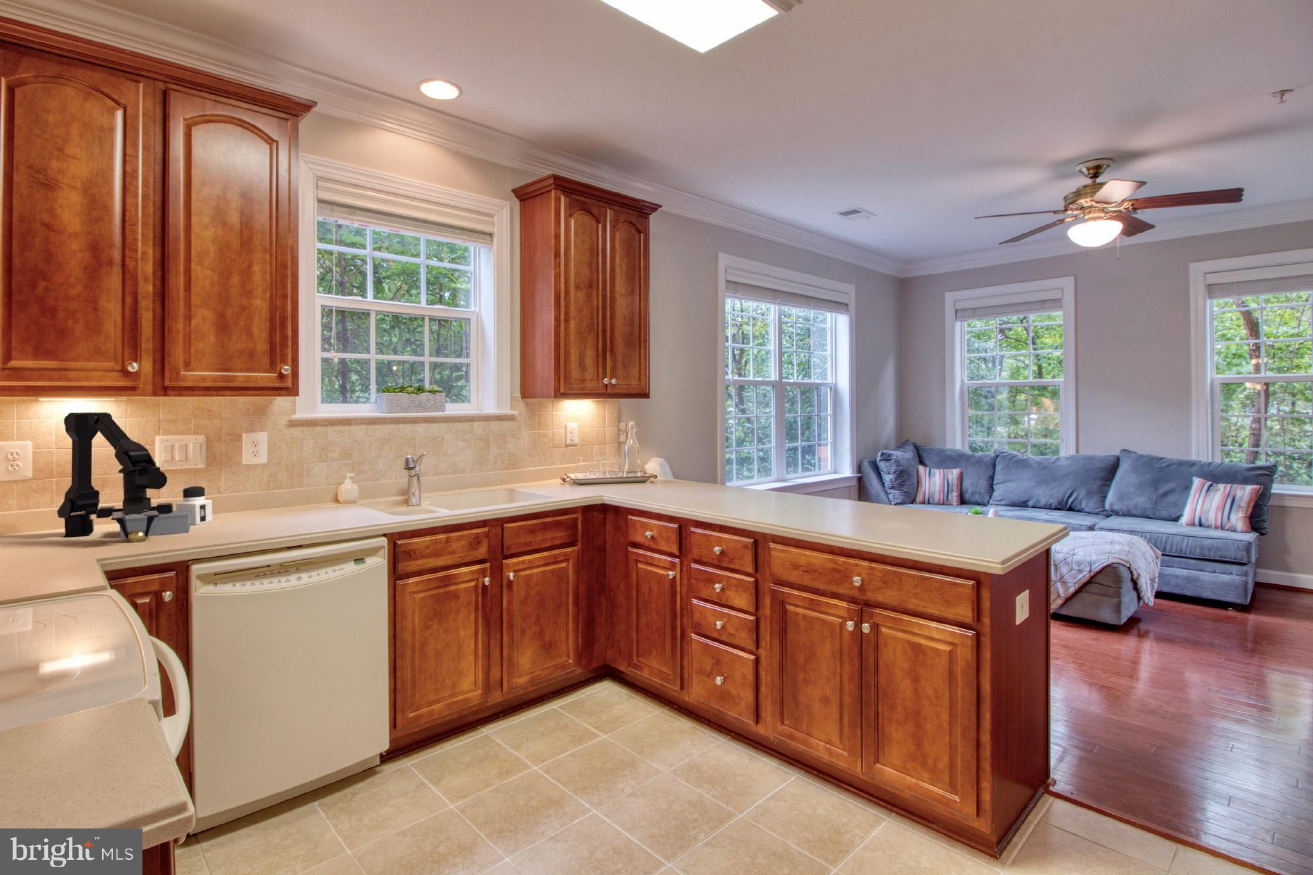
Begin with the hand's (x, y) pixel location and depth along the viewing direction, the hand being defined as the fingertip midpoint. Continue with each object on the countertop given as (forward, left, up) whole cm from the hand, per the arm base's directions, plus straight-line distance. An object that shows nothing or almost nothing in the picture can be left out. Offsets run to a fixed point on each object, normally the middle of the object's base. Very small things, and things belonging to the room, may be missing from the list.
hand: (137, 537), depth 214 cm
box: (+4, +14, -1) cm, 15 cm away
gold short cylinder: (0, 0, -1) cm, 1 cm away
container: (+14, +28, -1) cm, 31 cm away
